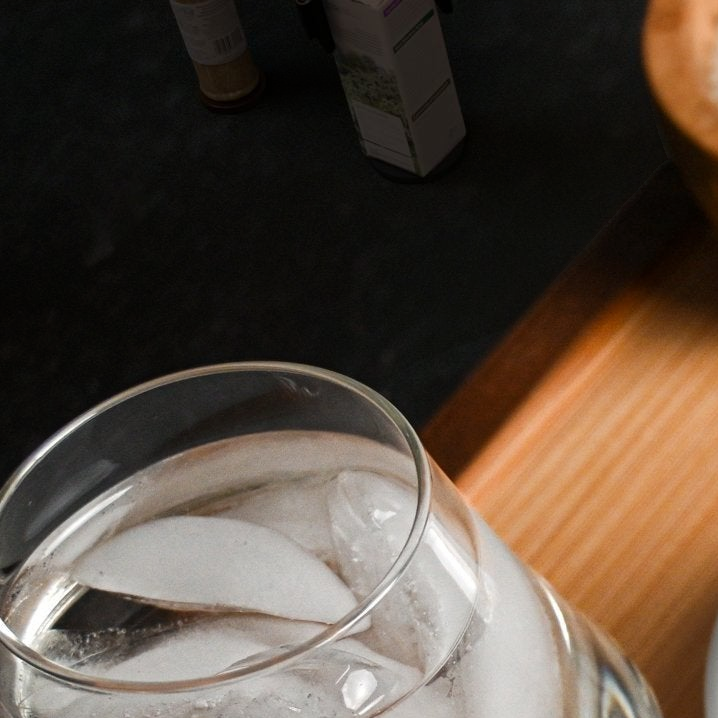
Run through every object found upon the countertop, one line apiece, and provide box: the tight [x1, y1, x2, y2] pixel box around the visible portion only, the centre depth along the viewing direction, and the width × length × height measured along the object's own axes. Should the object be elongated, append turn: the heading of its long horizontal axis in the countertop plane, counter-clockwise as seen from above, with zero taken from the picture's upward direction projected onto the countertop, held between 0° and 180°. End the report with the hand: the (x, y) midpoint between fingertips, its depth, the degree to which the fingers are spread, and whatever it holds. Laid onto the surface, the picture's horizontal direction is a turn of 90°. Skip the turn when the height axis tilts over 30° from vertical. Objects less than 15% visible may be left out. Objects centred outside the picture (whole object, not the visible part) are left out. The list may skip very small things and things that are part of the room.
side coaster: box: [369, 136, 467, 185], centre depth 141 cm, size 7×7×1 cm
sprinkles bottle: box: [168, 0, 259, 101], centre depth 140 cm, size 5×5×13 cm
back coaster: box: [197, 66, 269, 115], centre depth 146 cm, size 5×5×1 cm
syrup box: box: [321, 0, 467, 177], centre depth 135 cm, size 6×6×14 cm
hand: (383, 21), depth 132 cm, fingers open, 8 cm apart
